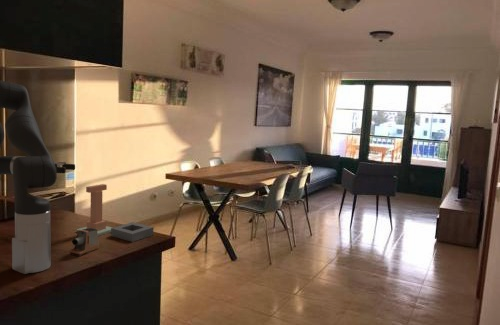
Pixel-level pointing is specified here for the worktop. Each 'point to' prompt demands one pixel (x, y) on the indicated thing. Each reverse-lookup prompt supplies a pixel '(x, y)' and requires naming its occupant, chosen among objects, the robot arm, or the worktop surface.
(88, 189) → the t key
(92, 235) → the electronic device
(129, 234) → the socket block
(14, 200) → the robot arm
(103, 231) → the mat
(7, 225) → the worktop surface
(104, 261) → the worktop surface
